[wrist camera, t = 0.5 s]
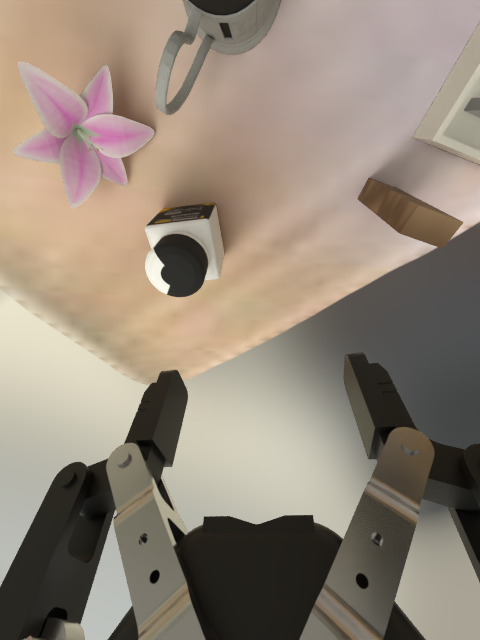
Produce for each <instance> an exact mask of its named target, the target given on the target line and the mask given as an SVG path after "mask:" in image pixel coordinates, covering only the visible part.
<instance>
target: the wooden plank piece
mask: <svg viewBox="0 0 480 640" xmlns="http://www.w3.org/2000/svg"><path fill="white" fill-rule="evenodd" d="M358 200H359V201H361V202H362V203H363V204H364V205H365V206H367V207H368V208H369V209H370V210H372V211H373V212H374V213H375V214H376V215H378V216H379V217H380V218H381V219H383V220H384V221H385V222H386V223H387V224H389V225H390V226H391V227H392V228H394V229H395V230H396V231H397V232H398V233H400V234H403V235H406V236H409V237H411V238H414V239H417V240H420V241H423V242H426V243H428V244H431V245H434V246H437V247H440V248H443V247H444V246H445V245H446V244H447V242H448V241H449V240H450V239H451V237H452V236H453V235H454V234H455V232H456V231H457V230H458V229H459V227H460V226H461V225H462V224H463V222H462V221H460V220H458V219H456V218H454V217H452V216H450V215H448V214H446V213H444V212H443V211H441V210H439V209H437V208H435V207H433V206H431V205H429V204H427V203H425V202H423V201H421V200H419V199H417V198H415V197H413V196H411V195H409V194H408V193H406V192H404V191H402V190H399V189H397V188H394V187H391V186H389V185H386V184H383V183H381V182H378V181H375V180H373V179H370V178H368V180H367V182H366V184H365V186H364V188H363V190H362V191H361V193H360V195H359V197H358Z"/></svg>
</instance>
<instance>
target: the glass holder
mask: <svg viewBox="0 0 480 640" xmlns="http://www.w3.org/2000/svg"><path fill="white" fill-rule="evenodd" d="M183 2H184V6H185V9H186V12H187V15H188V17H189V19H188V23H187V26H186V29H185V32H184V33H183V32H182V31H175V32H174V33H172V35H171V36H170V38H169V40H168V42H167V44H166V47H165V49H164V52H163V55H162V58H161V61H160V65H159V70H158V75H157V82H156V95H155V101H156V106H157V108H158V109H159V110H160V111H162V112H163V113H165V114H167V115H171V114H174V113H175V112H176V111H177V110H179V108H180V107H181V106H182V104H183V103H184V101H185V100H186V98H187V97H188V95H189V93H190V91H191V89H192V87H193V85H194V82H195V80H196V78H197V76H198V74H199V71H200V69H201V67H202V64H203V62H204V60H205V58H206V55H207V53H208V51H209V49H210V47H211V48H212V49H214V50H216V51H218V52H220V53H224V54H227V55H236V54H241V53H244V52H246V51H248V50H250V49H252V48H253V47H255V46H256V45H257V44H258V43H259V42H260V41H261V40H262V39H263V38H264V37H265V36H266V34H267V32H268V31H269V29H270V28H271V26H272V24H273V22H274V19H275V17H276V15H277V11H278V8H279V5H280V0H183ZM196 34H198V35H199V37H200V38H201V39H202V40H203V41H202V44H201V46H200V48H199V50H198V52H197V55H196V57H195V59H194V61H193V64H192V66H191V68H190V70H189V73H188V75H187V77H186V79H185V81H184V83H183V85H182V87H181V89H180V90H179V92H178V93H177V95H176V96H175V97H174V99H173V100H172V101H171V102H170V103H169V104H168V105H166V99H167V91H168V85H169V80H170V75H171V71H172V68H173V64H174V61H175V58H176V56H177V53H178V51H179V49H180V48H181V46H182V45H183V44H184V43H186V44H190V45H191V44H192V43H193V41H194V39H195V37H196Z"/></svg>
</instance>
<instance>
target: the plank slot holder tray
mask: <svg viewBox="0 0 480 640" xmlns="http://www.w3.org/2000/svg"><path fill="white" fill-rule="evenodd" d="M413 138H415V139H418V140H420V141H423V142H425V143H428V144H430V145H432V146H435V147H437V148H440V149H442V150H444V151H447V152H449V153H452V154H454V155H456V156H459V157H461V158H464V159H466V160H468V161H471V162H473V163H476V164H478V165H480V22H479V24H478V26H477V27H476V29H475V31H474V33H473V34H472V36H471V38H470V40H469V41H468V43H467V45H466V46H465V48H464V50H463V52H462V53H461V55H460V57H459V58H458V60H457V62H456V64H455V65H454V67H453V69H452V71H451V72H450V74H449V76H448V77H447V79H446V81H445V83H444V84H443V86H442V88H441V89H440V91H439V93H438V95H437V96H436V98H435V100H434V101H433V103H432V105H431V107H430V108H429V110H428V112H427V114H426V115H425V117H424V119H423V120H422V122H421V124H420V126H419V127H418V129H417V131H416V132H415V134H414V136H413Z"/></svg>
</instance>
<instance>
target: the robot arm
mask: <svg viewBox="0 0 480 640" xmlns="http://www.w3.org/2000/svg"><path fill="white" fill-rule="evenodd" d="M344 384H345V388H346V391H347V395H348V398H349V401H350V404H351V407H352V410H353V413H354V416H355V419H356V422H357V426H358V429H359V431H360V435H361V438H362V441H363V444H364V447H365V450H366V453H367V456H368V459H377V465H376V467H375V470H374V472H373V474H372V477H371V479H370V481H369V482H368V483H367V486H366V488H365V490H364V492H363V494H362V497H361V499H360V501H359V504H358V506H357V508H356V511H355V513H354V516H353V518H352V520H351V522H350V525H349V527H348V530H347V532H346V534H345V537H344V539H342V538H341V537H340V536H339V535H338V534H336V533H335V532H333V531H332V530H330V529H329V528H327V527H325V526H323V525H320V524H318V523H314V520H313V515H297V516H296V515H293V516H292V515H291V516H282V517H279V518H276V519H273V520H270V521H267V522H264V523H262V524H252V523H249V522H246V521H243V520H240V519H236V518H233V517H230V516H225V517H224V516H219V517H218V516H216V517H204V522H203V525H201V526H199V527H197V528H195V529H193V530H192V531H190V532H189V533H188V531H187V528H186V527H185V525H184V523H183V521H182V520H181V518H180V516H179V514H178V512H177V510H176V508H175V505H174V503H173V500H172V498H171V496H170V494H169V491H168V489H167V486H166V484H165V482H164V479H163V477H162V471H163V467H172V464H173V461H174V456H175V452H176V448H177V443H178V439H179V435H180V430H181V426H182V422H183V418H184V413H185V409H186V405H187V400H188V393H187V389H186V387H185V385H184V382H183V380H182V378H181V376H180V374H179V372H178V371H177V370H171V371H162V372H161V373H160V374H159V377H158V380H157V383H152V384H151V385H150V386H149V387H148V389H147V390H146V391H145V392H144V395H143V397H142V400H141V404H140V405H139V408H138V411H137V413H136V416H135V418H134V420H133V423H132V426H131V428H130V431H129V433H128V436H127V438H126V441H125V443H124V444H123V445H121V446H119V447H118V448H116V449H115V451H113V452H112V454H111V455H110V457H109V458H108V459H106V460H103V461H101V462H98V463H96V464H93V465H91V466H88V467H87V466H86V465H85V464H83V463H81V462H74V463H71V464H69V465H68V466H66V467H65V468H63V469H62V470H61V471H60V472H59V473H58V474H57V476H56V477H55V479H54V480H53V482H52V484H51V486H50V488H49V490H48V492H47V494H46V496H45V498H44V500H43V502H42V504H41V506H40V508H39V510H38V512H37V514H36V516H35V518H34V520H33V522H32V524H31V526H30V529H29V530H28V532H27V534H26V536H25V538H24V540H23V542H22V545H21V546H20V548H19V551H18V553H17V554H16V556H15V559H14V560H13V562H12V564H11V566H10V569H9V571H8V573H7V575H6V577H5V579H4V581H3V583H2V585H1V587H0V640H85V638H84V631H83V629H82V627H81V625H80V623H81V620H82V617H83V614H84V610H85V607H86V603H87V600H88V596H89V594H90V590H91V587H92V584H93V581H94V577H95V574H96V570H97V567H98V564H99V561H100V557H101V554H102V551H103V548H104V544H105V541H106V538H107V534H108V531H109V528H110V525H111V521H112V518H113V515H114V511H115V510H117V516H115V517H114V528H115V532H116V537H117V541H118V545H119V550H120V554H121V558H122V562H123V567H124V571H125V575H126V579H127V584H128V587H129V592H130V596H131V600H132V607H131V608H130V610H129V611H128V612H127V614H126V615H125V616H124V618H123V619H122V621H121V622H120V623H119V625H118V626H117V627H116V629H115V630H114V632H113V633H112V635H111V636H110V637H109V639H108V640H426V639H425V638H424V637H423V636H422V635H421V633H420V632H419V631H418V630H417V628H416V627H415V626H414V625H413V623H412V622H411V621H410V620H409V619H408V617H407V616H406V615H405V614H404V612H403V611H402V610H401V609H400V608H399V606H398V605H397V604H396V602H395V601H394V600H395V597H396V593H397V590H398V586H399V583H400V579H401V576H402V572H403V569H404V566H405V562H406V559H407V555H408V552H409V548H410V545H411V541H412V538H413V534H414V531H415V528H416V524H417V520H418V515H419V506H420V503H421V500H422V499H425V500H429V501H432V502H435V503H438V504H442V505H445V506H447V507H448V509H449V511H450V514H451V516H452V518H453V521H454V523H455V525H456V527H457V530H458V532H459V535H460V537H461V539H462V542H463V544H464V546H465V549H466V551H467V553H468V556H469V558H470V560H471V563H472V565H473V567H474V570H475V572H476V574H477V577H478V579H479V582H480V444H474V445H471V446H469V447H468V448H467V449H466V450H464V449H460V448H456V447H451V446H447V445H443V444H439V443H437V442H434V441H432V440H430V439H428V438H427V437H426V436H425V435H424V434H422V433H421V432H420V431H419V430H418V429H417V428H416V427H415V425H414V423H413V421H412V419H411V417H410V415H409V413H408V411H407V409H406V408H405V405H404V404H403V402H402V400H401V398H400V396H399V394H398V393H397V390H396V388H395V386H394V384H393V382H392V380H391V378H390V376H389V374H388V372H387V371H386V370H385V369H384V368H383V367H382V366H381V365H379V364H378V363H372V364H369V363H368V360H367V359H366V356H365V354H364V353H363V352H361V353H351V354H346V355H345V365H344Z"/></svg>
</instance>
